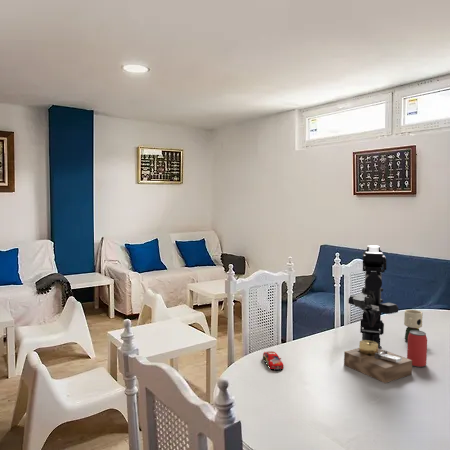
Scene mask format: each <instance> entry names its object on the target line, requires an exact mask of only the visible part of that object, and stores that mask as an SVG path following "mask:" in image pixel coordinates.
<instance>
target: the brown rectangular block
mask: <svg viewBox="0 0 450 450" xmlns="http://www.w3.org/2000/svg"><path fill="white" fill-rule="evenodd" d="M380 352H385V354H388V355H392V356H396V357H400V358H402V361H400V362H392V361H389V360H385V359H381V358H379V354H378V353H380ZM378 353H375V355H374V356H368V355H364V354H361V353H360V352H359V347H357V348H353V349H349V350H346V351H344V356H343V365H344V366H345V367H348V368H350V369H353V370H355V371H357V372H359V373H362V374H364V375H365V376H368V377H371V378H373V379H375V380H378V381H380V382H383V383H384V384H386V383H389V382H393V381H396V380H398V379H401V378H402V379H403V378H405V377H409V376H411V375H413V373H412V371H413V366H412V360H410V359H407V357H403V356H401V355H398V354H396V353H393V352H390V351H388V350H384V349H382V348H380V349H379V348H378Z"/></svg>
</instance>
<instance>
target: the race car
mask: <svg viewBox="0 0 450 450" xmlns="http://www.w3.org/2000/svg"><path fill="white" fill-rule="evenodd" d="M263 358H264V360H265V361H266V363H267V365H268V366H269V367H270V369H275V370H274V371H280V370H279V369H282V370H283V369H284V362H283V361H282V360H281V359H282V357H280V356H279V355H278V354H277V352H276V351H272V350H271V351H270V350H269V351H264V352H263V353H262V359H263ZM266 363H265V364H266ZM267 365H266V366H267ZM268 366H267V367H268ZM269 367H268V368H269ZM270 369H269V370H270Z"/></svg>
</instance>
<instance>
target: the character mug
mask: <svg viewBox="0 0 450 450" xmlns="http://www.w3.org/2000/svg"><path fill="white" fill-rule="evenodd" d="M403 321H404V322H403V325H404V326H406V329H405V334H404V340H405V341H408V335H409V333H410V331H411V330H418V331H421V330H420V328H422V327H423V311H421V310H417V309H405V310H404V318H403Z"/></svg>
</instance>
